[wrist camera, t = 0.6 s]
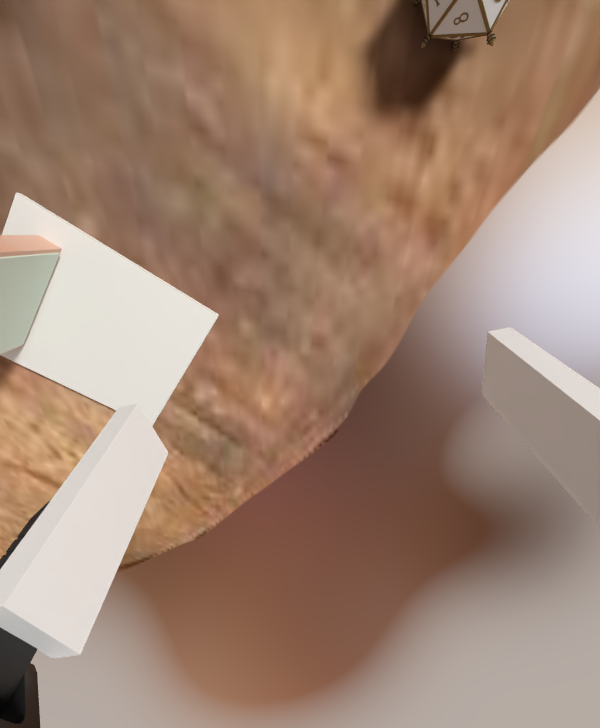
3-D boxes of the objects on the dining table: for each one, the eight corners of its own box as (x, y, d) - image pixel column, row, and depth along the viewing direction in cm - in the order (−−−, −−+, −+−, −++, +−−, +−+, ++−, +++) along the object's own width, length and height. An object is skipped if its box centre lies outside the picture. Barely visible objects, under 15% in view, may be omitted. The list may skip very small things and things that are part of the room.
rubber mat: (-29, 337, 34) (-34, 339, 34) (21, 193, 30) (16, 192, 29) (153, 424, 40) (151, 427, 39) (219, 314, 35) (218, 316, 35)
